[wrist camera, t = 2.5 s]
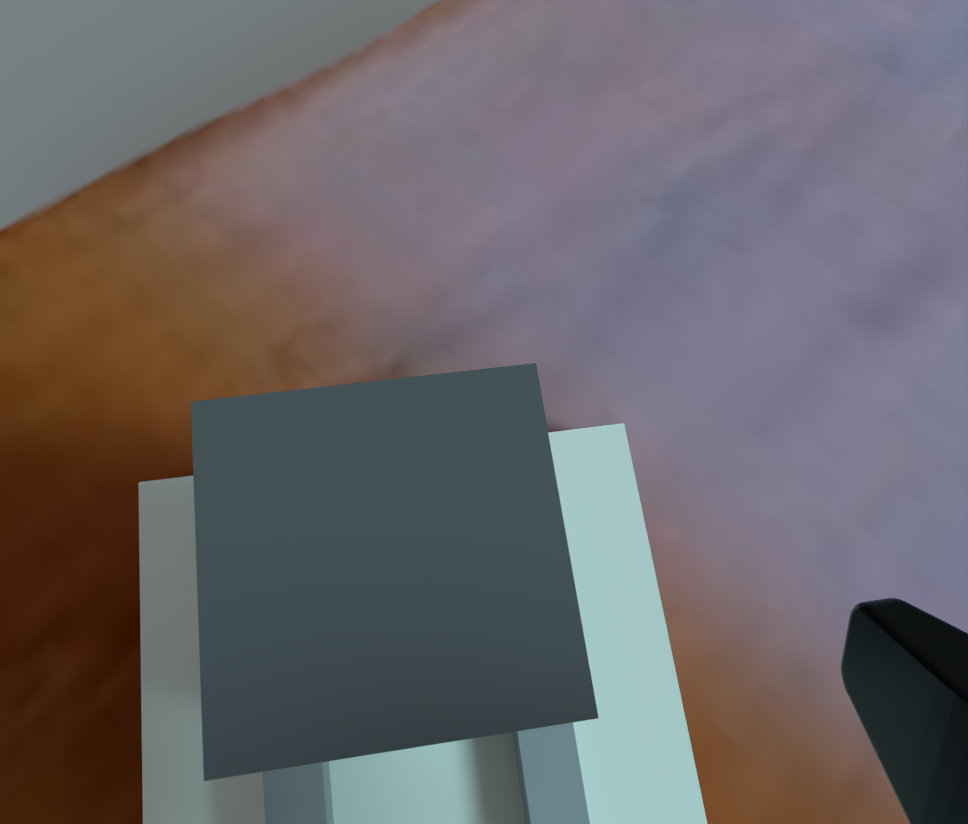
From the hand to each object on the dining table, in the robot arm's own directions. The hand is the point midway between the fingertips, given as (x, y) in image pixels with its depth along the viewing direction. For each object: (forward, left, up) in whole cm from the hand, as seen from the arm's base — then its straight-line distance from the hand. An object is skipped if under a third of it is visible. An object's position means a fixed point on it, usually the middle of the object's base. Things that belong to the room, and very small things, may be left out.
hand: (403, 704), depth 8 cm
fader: (+1, +1, -8) cm, 8 cm away
